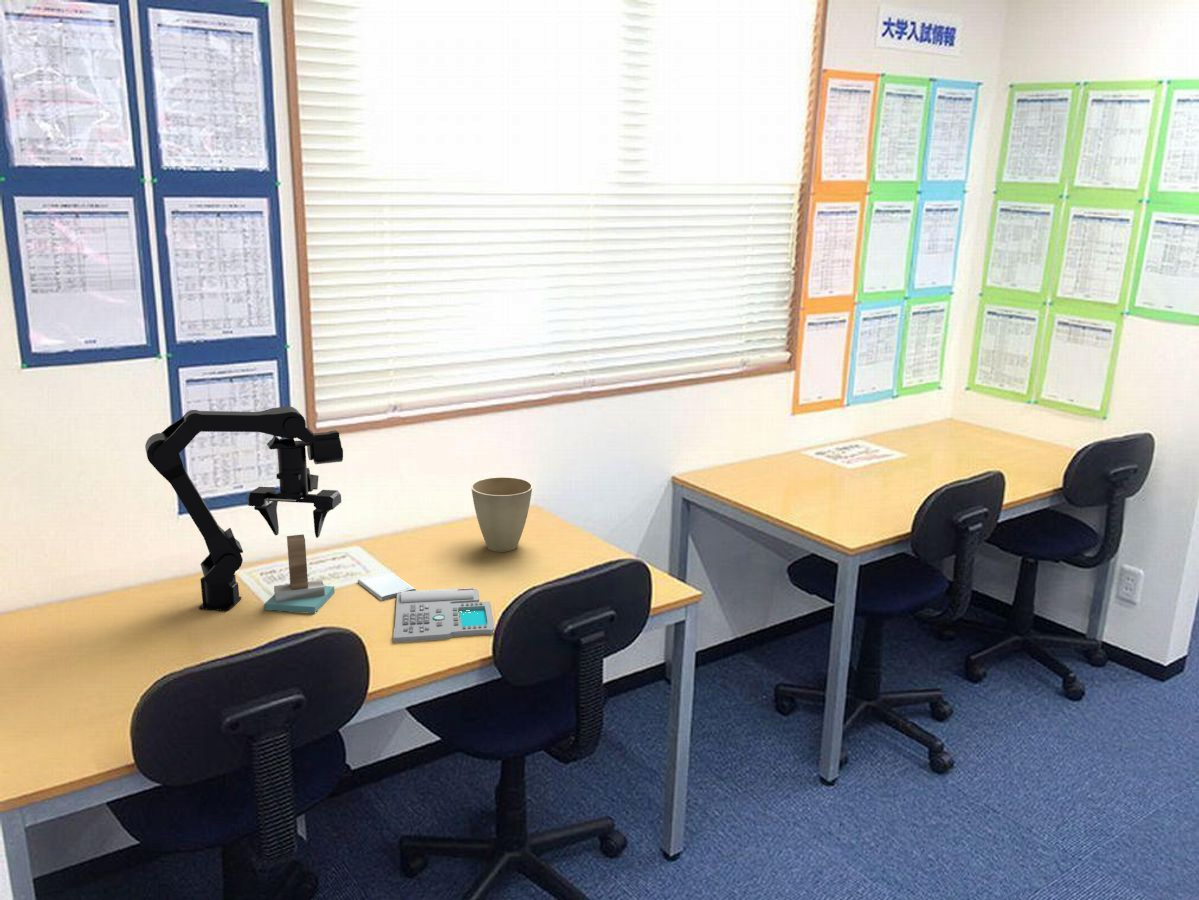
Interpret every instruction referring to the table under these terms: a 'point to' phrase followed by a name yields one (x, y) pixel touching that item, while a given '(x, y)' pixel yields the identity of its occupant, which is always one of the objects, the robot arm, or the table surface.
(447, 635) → the office telephone
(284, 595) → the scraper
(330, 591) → the plate
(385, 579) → the hard drive
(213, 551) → the robot arm
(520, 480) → the plant pot
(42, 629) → the table surface
